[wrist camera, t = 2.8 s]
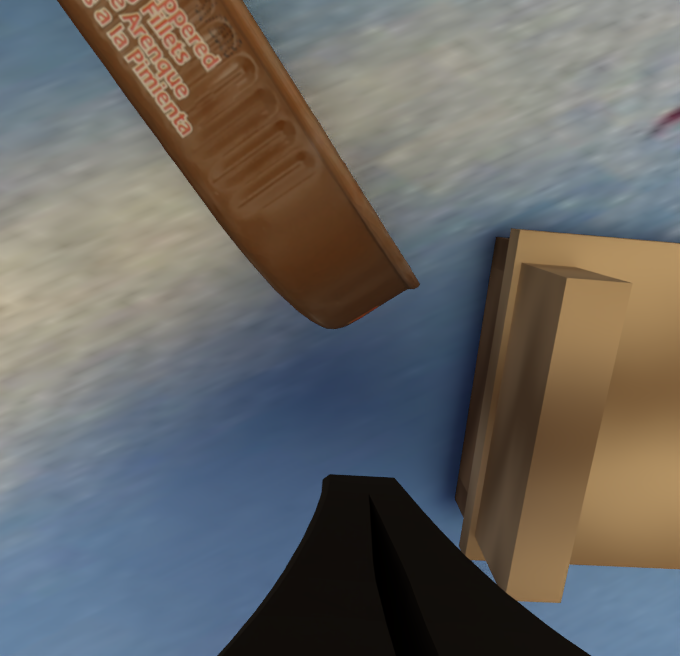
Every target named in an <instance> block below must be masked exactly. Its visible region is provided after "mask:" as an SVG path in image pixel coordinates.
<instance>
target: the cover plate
mask: <svg viewBox="0 0 680 656" xmlns="http://www.w3.org/2000/svg"><path fill="white" fill-rule="evenodd" d="M459 547H460V550H461V552H462V553H463V554H464V555H465V556H466V557H467V558H468V559H470V560H482V561H486V562H487V564H488V566H489V568H490V571H491V573H492V575H493V577H494V579H495V581H496V583H497V585H498V586H499V587H500V588H501V589H503V590H504V591H505V592H506V593H507V594H508V595H510V596H511V597H512V598H513V599H515V600H516V601H528V602H553V603H561V599H562V594H563V590H564V586H565V581H566V577H567V572H568V568H569V564H573V565H596V566H619V567H642V568H664V569H680V243H672V242H661V241H649V240H638V239H626V238H615V237H603V236H592V235H580V234H569V233H558V232H546V231H535V230H523V229H512V228H511V232H510V238H509V244H508V251H507V257H506V263H505V269H504V275H503V281H502V287H501V293H500V299H499V305H498V312H497V318H496V324H495V330H494V336H493V342H492V348H491V354H490V360H489V366H488V373H487V379H486V385H485V391H484V397H483V403H482V409H481V415H480V421H479V427H478V434H477V440H476V446H475V452H474V458H473V464H472V470H471V476H470V482H469V488H468V495H467V501H466V507H465V513H464V519H463V525H462V531H461V537H460V543H459Z"/></svg>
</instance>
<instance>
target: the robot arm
mask: <svg viewBox="0 0 680 656" xmlns="http://www.w3.org/2000/svg"><path fill="white" fill-rule="evenodd" d="M217 656H591V655H589V654H588V653H586V652H585V651H583V650H582V649H580V648H579V647H577V646H576V645H575V644H573V643H572V642H570V641H569V640H567V639H566V638H564V637H563V636H562V635H560V634H559V633H557V632H556V631H555V630H553V629H552V628H551V627H549V626H548V625H547V624H545V623H544V622H543V621H541V620H540V619H539V618H537V617H536V616H535V615H534V614H532V613H531V612H530V611H529V610H527V609H526V608H525V607H524V606H522V605H521V604H520V603H519V602H517V601H516V600H515V599H513V598H512V597H511V596H510V595H508V594H507V593H506V592H505V591H504V590H503V589H501V588H500V587H499V586H498V585H497V584H496V583H494V582H493V581H492V580H491V579H490V578H489V577H488V576H487V575H486V574H485V573H484V572H482V571H481V570H480V569H479V568H478V567H477V566H476V565H475V564H474V563H473V562H472V561H471V560H470V559H468V558H467V557H466V556H465V555H464V554H463V553H462V552H461V551H460V550H459V549H458V548H457V547H456V546H455V545H454V544H453V543H452V542H451V541H450V540H449V539H448V538H447V537H446V535H445V534H444V533H443V532H442V531H441V530H440V529H439V528H438V527H437V526H436V525H435V524H434V523H433V522H432V520H431V519H430V518H429V517H428V516H427V515H426V514H425V513H424V512H423V510H422V509H421V508H420V507H419V506H418V505H417V504H416V502H415V501H414V500H413V499H412V498H411V497H410V495H409V494H408V493H407V492H406V491H405V490H404V489H403V487H402V486H401V485H400V484H399V483H398V482H397V481H396V479H395V478H388V477H370V476H351V475H333V474H329V475H328V476H327V477H325V478H324V479H323V482H322V493H321V496H320V500H319V503H318V505H317V508H316V511H315V513H314V515H313V518H312V520H311V522H310V524H309V526H308V528H307V530H306V533H305V535H304V537H303V539H302V541H301V542H300V544H299V546H298V548H297V549H296V551H295V553H294V554H293V556H292V558H291V560H290V561H289V563H288V565H287V566H286V568H285V570H284V571H283V573H282V574H281V576H280V577H279V579H278V580H277V582H276V583H275V585H274V586H273V588H272V589H271V591H270V592H269V593H268V595H267V596H266V598H265V599H264V600H263V602H262V603H261V604H260V606H259V607H258V608H257V610H256V611H255V612H254V613H253V615H252V616H251V617H250V618H249V619H248V621H247V622H246V623H245V624H244V625H243V627H242V628H241V629H240V630H239V631H238V633H237V634H236V635H235V636H234V637H233V639H232V640H231V641H230V642H229V643H228V644H227V646H226V647H225V648H224V649H223V650H222V651H221V652H220V653H219V654H218V655H217Z"/></svg>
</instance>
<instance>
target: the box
mask: <svg viewBox="0 0 680 656" xmlns="http://www.w3.org/2000/svg"><path fill="white" fill-rule="evenodd" d="M508 244H509V238H502V237H496V241H495V247H494V254H493V260H492V266H491V273H490V279H489V285H488V292H487V298H486V304H485V311H484V317H483V323H482V330H481V336H480V342H479V349H478V355H477V361H476V368H475V374H474V380H473V387H472V393H471V399H470V406H469V412H468V418H467V425H466V431H465V437H464V444H463V450H462V456H461V463H460V469H459V476H458V482H457V488H456V495H455V500H456V502H457V504H458V507H459V509H460V511H461V513H462V515H463V518H464V513H465V507H466V501H467V495H468V488H469V482H470V476H471V470H472V464H473V458H474V452H475V446H476V440H477V434H478V427H479V421H480V415H481V409H482V403H483V397H484V391H485V385H486V379H487V373H488V366H489V360H490V354H491V348H492V342H493V336H494V330H495V324H496V318H497V312H498V305H499V299H500V293H501V287H502V281H503V275H504V269H505V263H506V257H507V251H508Z"/></svg>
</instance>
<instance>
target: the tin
mask: <svg viewBox="0 0 680 656" xmlns="http://www.w3.org/2000/svg"><path fill="white" fill-rule="evenodd" d="M57 1H58V2H59V4H60V5H61V6H62V8H63V9H64V11H65V12H66V13H67V15H68V16H69V18H70V19H71V20H72V22H73V23H74V25H75V26H76V28H77V29H78V30H79V32H80V33H81V34H82V36H83V37H84V38H85V40H86V41H87V43H88V44H89V45H90V47H91V48H92V49H93V51H94V52H95V53H96V55H97V56H98V58H99V59H100V60H101V62H102V63H103V64H104V66H105V67H106V68H107V70H108V71H109V73H110V74H111V76H112V77H113V79H114V80H115V81H116V83H117V84H118V86H119V87H120V88H121V90H122V91H123V93H124V94H125V95H126V97H127V98H128V100H129V101H130V102H131V104H132V105H133V106H134V108H135V109H136V110H137V112H138V113H139V115H140V116H141V117H142V119H143V120H144V121H145V123H146V124H147V125H148V127H149V128H150V129H151V131H152V132H153V133H154V135H155V136H156V137H157V139H158V140H159V142H160V143H161V144H162V146H163V147H164V149H165V150H166V152H167V153H168V155H169V156H170V157H171V159H172V160H173V161H174V162H175V164H176V165H177V166H178V168H179V169H180V170H181V172H182V173H183V175H184V176H185V177H186V179H187V180H188V182H189V183H190V184H191V186H192V187H193V188H194V190H195V191H196V192H197V194H198V195H199V196H200V198H201V199H202V200H203V202H204V203H205V205H206V206H207V207H208V209H209V210H210V211H211V213H212V214H213V216H214V217H215V218H216V220H217V221H218V222H219V224H220V225H221V226H222V228H223V229H224V230H225V231H226V233H227V234H228V235H229V236H230V238H231V239H232V240H233V241H234V243H235V244H236V245H237V246H238V248H239V249H240V250H241V251H242V253H243V254H244V255H245V256H246V257H247V259H248V260H249V261H250V262H251V263H252V264H253V266H254V267H255V268H256V269H257V270H258V271H259V272H260V274H261V275H262V276H263V277H264V278H265V279H266V280H267V281H268V283H269V284H270V285H271V286H272V287H273V288H274V289H275V290H276V291H277V292H278V293H279V294H280V295H281V296H282V297H283V298H284V299H285V300H286V301H288V302H289V303H290V304H291V305H292V306H293V307H294V308H295V309H296V310H297V311H298V312H300V313H301V314H302V315H304V316H305V317H307V318H308V319H309V320H311V321H312V322H314V323H316V324H318V325H320V326H322V327H324V328H326V329H337V328H342V327H345V326H347V325H349V324H351V323H353V322H355V321H357V320H358V319H360V318H362V317H363V316H365V315H366V314H368V313H370V312H371V311H373V310H374V309H376V308H377V307H379V306H381V305H382V304H384V303H385V302H387V301H388V300H390V299H392V298H393V297H395V296H397V295H398V294H400V293H402V292H403V291H405V290H407V289H415V288H417V287H418V286H419V285H420V283H419V282H418V280H417V278H416V277H415V275H414V273H413V272H412V270H411V268H410V266H409V265H408V263H407V262H406V260H405V259H404V257H403V255H402V254H401V253H400V251H399V249H398V248H397V246H396V245H395V243H394V241H393V240H392V239H391V237H390V236H389V234H388V232H387V231H386V229H385V227H384V225H383V224H382V222H381V221H380V219H379V217H378V215H377V214H376V212H375V211H374V209H373V208H372V206H371V204H370V203H369V201H368V200H367V198H366V197H365V195H364V194H363V192H362V190H361V189H360V187H359V186H358V184H357V182H356V181H355V179H354V178H353V176H352V175H351V173H350V172H349V170H348V168H347V166H346V164H345V163H344V162H343V161H342V159H341V158H340V156H339V154H338V153H337V151H336V149H335V148H334V146H333V145H332V143H331V141H330V140H329V138H328V136H327V135H326V133H325V131H324V130H323V128H322V126H321V125H320V123H319V122H318V120H317V119H316V117H315V116H314V114H313V113H312V111H311V109H310V108H309V106H308V105H307V103H306V102H305V100H304V98H303V97H302V95H301V93H300V92H299V90H298V88H297V87H296V85H295V84H294V82H293V80H292V79H291V77H290V76H289V74H288V72H287V71H286V69H285V68H284V66H283V64H282V63H281V61H280V60H279V58H278V57H277V55H276V54H275V52H274V51H273V49H272V47H271V46H270V44H269V42H268V40H267V39H266V37H265V35H264V34H263V32H262V31H261V29H260V28H259V26H258V25H257V23H256V21H255V20H254V18H253V16H252V15H251V13H250V12H249V10H248V9H247V7H246V5H245V4H244V2H243V1H242V0H57Z"/></svg>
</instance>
